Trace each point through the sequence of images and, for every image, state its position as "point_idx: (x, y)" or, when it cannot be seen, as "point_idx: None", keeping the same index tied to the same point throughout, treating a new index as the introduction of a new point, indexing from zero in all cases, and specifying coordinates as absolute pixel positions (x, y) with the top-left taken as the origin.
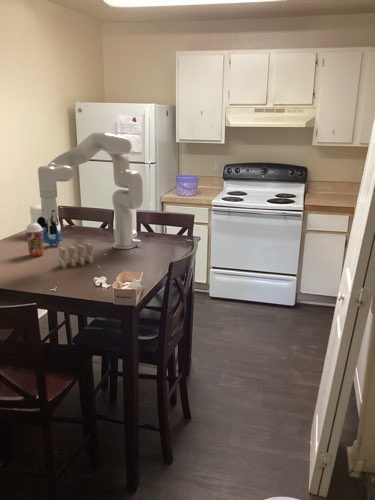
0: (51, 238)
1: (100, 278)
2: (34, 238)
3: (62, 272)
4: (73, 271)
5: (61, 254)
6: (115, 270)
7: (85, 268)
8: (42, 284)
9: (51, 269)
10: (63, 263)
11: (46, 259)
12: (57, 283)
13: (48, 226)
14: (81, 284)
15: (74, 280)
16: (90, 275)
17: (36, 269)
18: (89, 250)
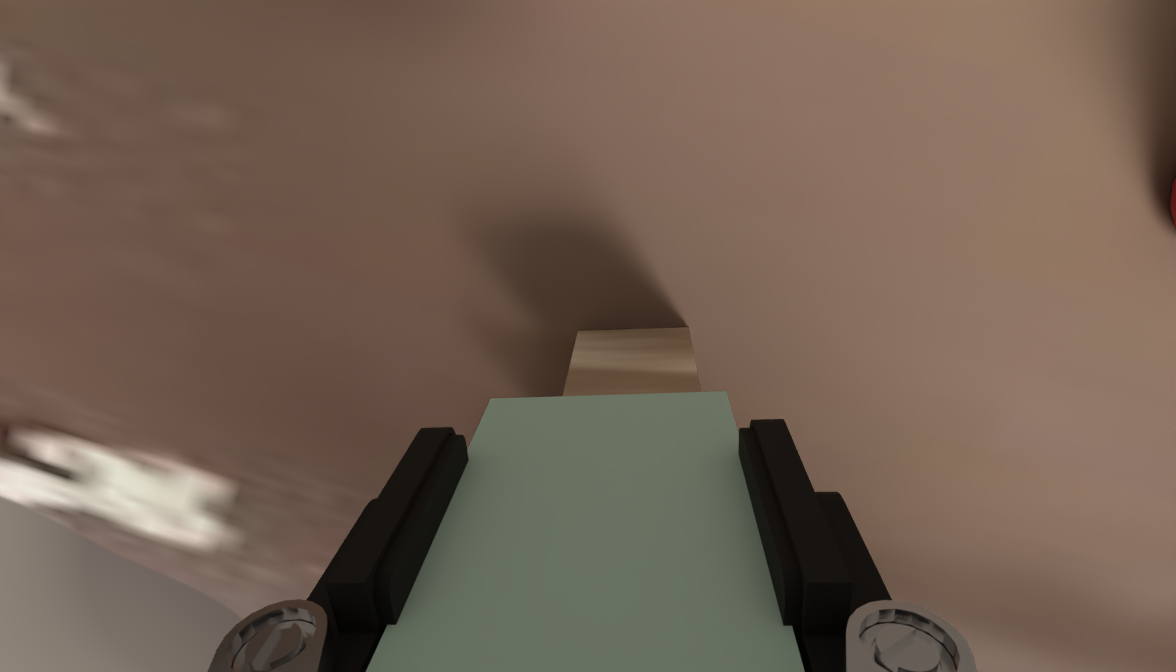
0: (523, 400)
1: (180, 506)
2: None
3: (444, 286)
4: (432, 382)
5: (601, 394)
6: None
7: None
8: (143, 5)
9: (588, 211)
10: (574, 354)
11: (982, 249)
12: (140, 158)
13: (697, 566)
14: (71, 341)
15: (184, 319)
16: (274, 467)
17: (672, 51)
18: None
